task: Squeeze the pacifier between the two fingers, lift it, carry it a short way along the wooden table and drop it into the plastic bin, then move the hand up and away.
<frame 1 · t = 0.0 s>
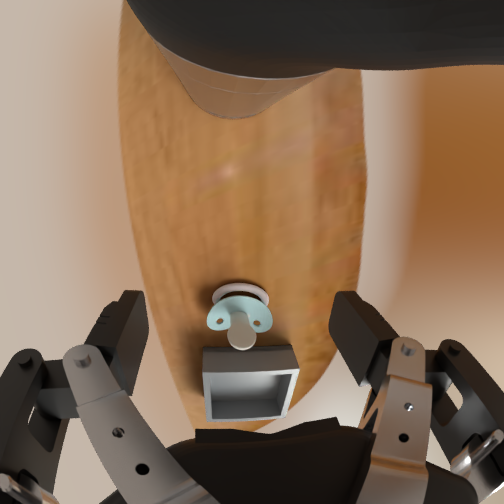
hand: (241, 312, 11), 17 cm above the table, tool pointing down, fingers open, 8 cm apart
pacifier: (239, 302, 31), on the table
bin: (245, 375, 36), on the table
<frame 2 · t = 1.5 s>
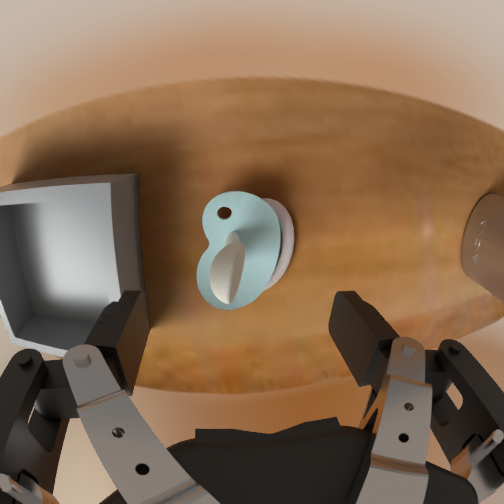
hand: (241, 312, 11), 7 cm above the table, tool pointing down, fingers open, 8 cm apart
pacifier: (246, 243, 18), on the table
bin: (71, 257, 17), on the table
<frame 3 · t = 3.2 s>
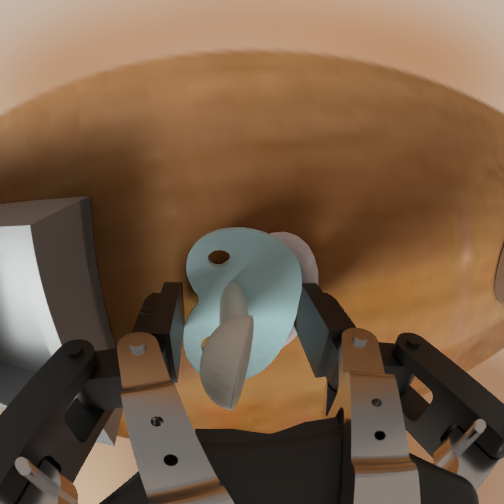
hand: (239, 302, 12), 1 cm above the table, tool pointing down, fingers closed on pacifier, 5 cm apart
pacifier: (251, 291, 13), on the table, touching gripper
bin: (25, 302, 11), on the table
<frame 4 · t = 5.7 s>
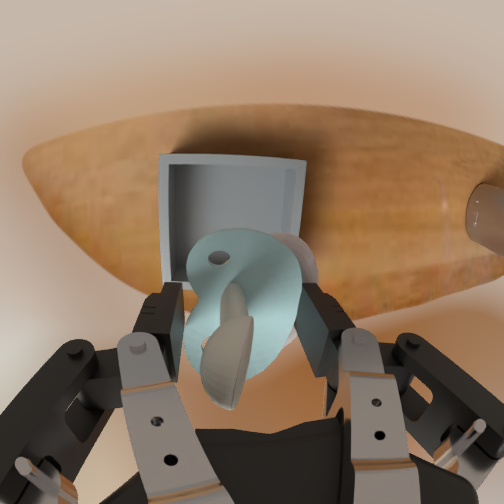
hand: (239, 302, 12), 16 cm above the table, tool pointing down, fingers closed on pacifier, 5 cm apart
pacifier: (251, 291, 13), point 15 cm above the table, touching gripper
bin: (228, 214, 26), on the table
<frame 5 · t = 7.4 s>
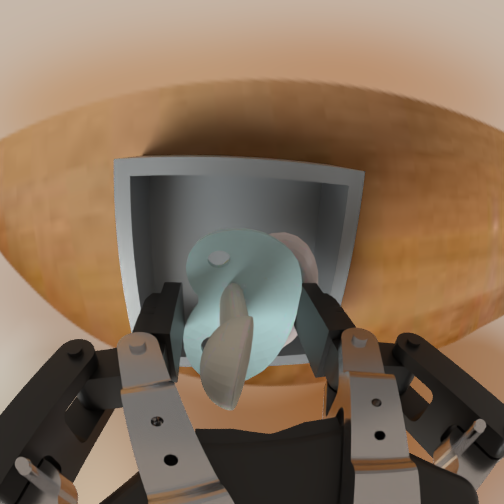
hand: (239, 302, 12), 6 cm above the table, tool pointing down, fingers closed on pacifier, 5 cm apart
pacifier: (251, 292, 13), point 5 cm above the table, touching gripper
bin: (232, 249, 17), on the table
when the fingers open (4 cm above the table, at t = 8.7 s): pacifier drops 2 cm, resting on bin.
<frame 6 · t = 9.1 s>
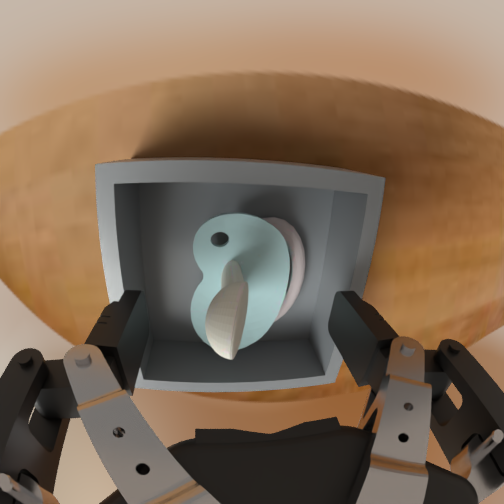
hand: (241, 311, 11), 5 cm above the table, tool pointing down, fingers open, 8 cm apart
pacifier: (248, 270, 15), point 1 cm above the table, touching bin
bin: (233, 262, 16), on the table
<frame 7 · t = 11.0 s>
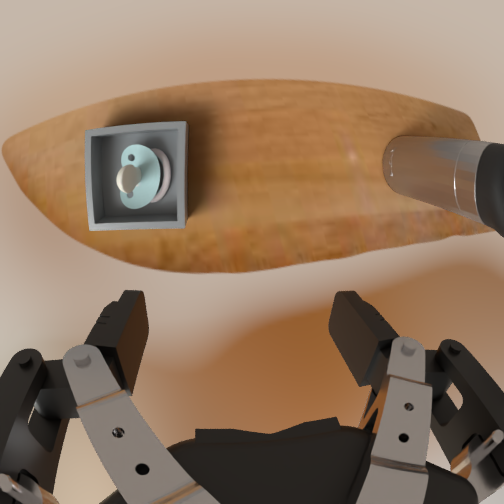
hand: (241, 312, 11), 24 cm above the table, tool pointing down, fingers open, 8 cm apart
pacifier: (147, 175, 30), point 1 cm above the table, touching bin
bin: (141, 173, 30), on the table
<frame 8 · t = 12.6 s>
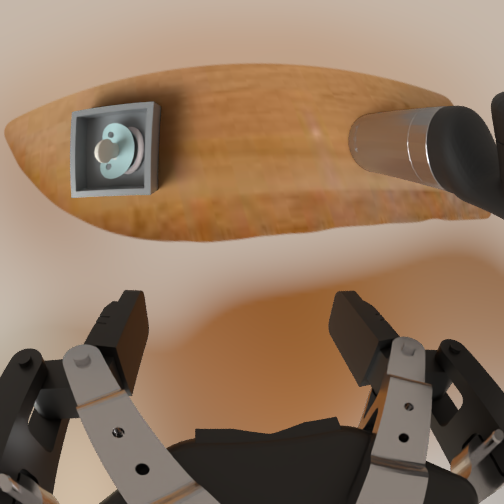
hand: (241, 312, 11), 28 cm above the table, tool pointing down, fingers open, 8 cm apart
pacifier: (125, 150, 32), point 1 cm above the table, touching bin
bin: (119, 149, 33), on the table
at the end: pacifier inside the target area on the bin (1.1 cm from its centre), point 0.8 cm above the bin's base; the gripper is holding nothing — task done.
